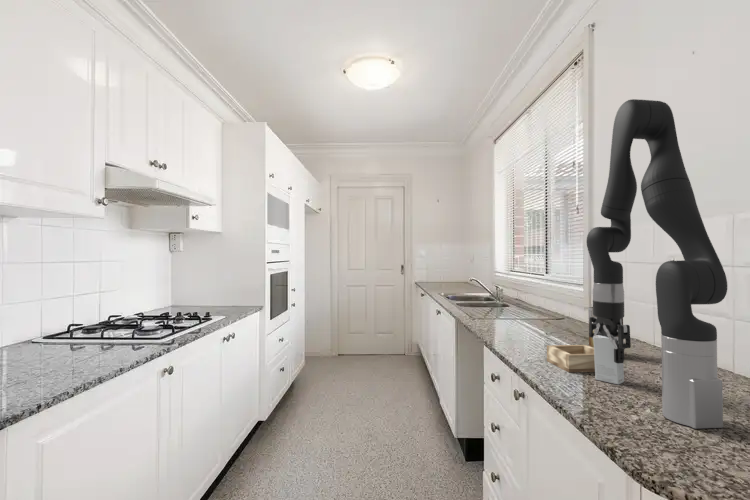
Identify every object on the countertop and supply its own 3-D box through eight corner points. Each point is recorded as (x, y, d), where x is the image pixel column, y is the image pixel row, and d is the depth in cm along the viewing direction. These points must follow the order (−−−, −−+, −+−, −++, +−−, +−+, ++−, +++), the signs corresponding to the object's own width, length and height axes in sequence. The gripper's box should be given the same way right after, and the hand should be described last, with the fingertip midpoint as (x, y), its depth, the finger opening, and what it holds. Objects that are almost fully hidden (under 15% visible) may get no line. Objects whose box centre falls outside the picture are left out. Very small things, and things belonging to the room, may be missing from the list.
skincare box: (624, 382, 109) (624, 337, 109) (618, 385, 106) (617, 339, 107) (600, 376, 114) (599, 333, 114) (593, 380, 111) (593, 336, 111)
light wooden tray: (611, 371, 119) (611, 354, 119) (568, 372, 118) (568, 355, 118) (585, 359, 132) (585, 344, 132) (546, 360, 131) (546, 345, 131)
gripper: (639, 302, 104) (640, 365, 104) (604, 296, 118) (605, 351, 118) (611, 303, 103) (612, 366, 103) (580, 296, 117) (580, 352, 117)
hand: (608, 358), depth 111 cm, fingers open, 8 cm apart
